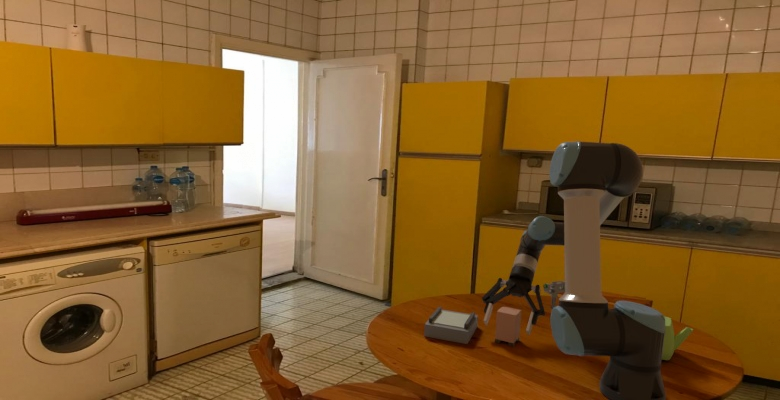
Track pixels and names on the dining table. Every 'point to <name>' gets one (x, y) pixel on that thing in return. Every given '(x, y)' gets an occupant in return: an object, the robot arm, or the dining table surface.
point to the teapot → (672, 339)
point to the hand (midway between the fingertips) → (506, 327)
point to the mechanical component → (554, 290)
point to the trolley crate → (508, 325)
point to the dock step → (451, 326)
